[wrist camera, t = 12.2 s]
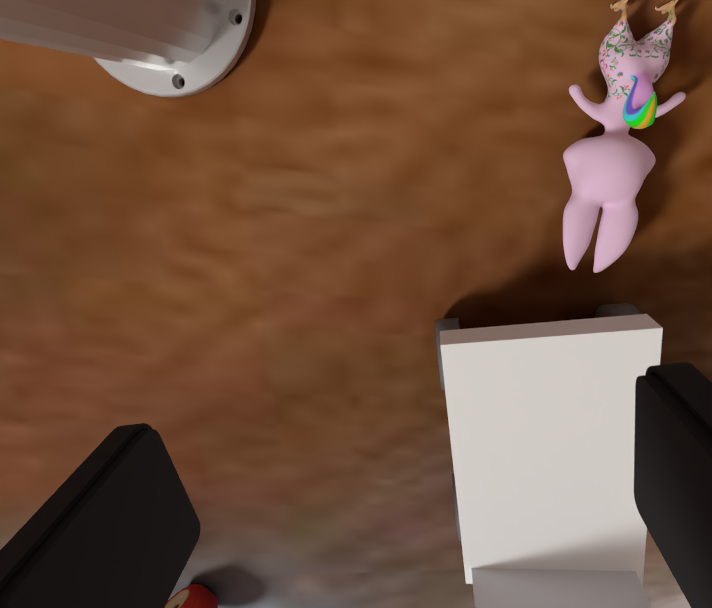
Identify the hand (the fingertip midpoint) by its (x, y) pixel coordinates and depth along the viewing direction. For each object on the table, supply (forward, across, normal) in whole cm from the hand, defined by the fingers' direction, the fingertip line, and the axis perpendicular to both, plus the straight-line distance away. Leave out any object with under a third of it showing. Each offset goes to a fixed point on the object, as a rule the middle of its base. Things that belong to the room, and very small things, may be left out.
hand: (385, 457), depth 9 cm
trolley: (+24, -7, +18) cm, 30 cm away
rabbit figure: (+25, -13, -2) cm, 28 cm away
